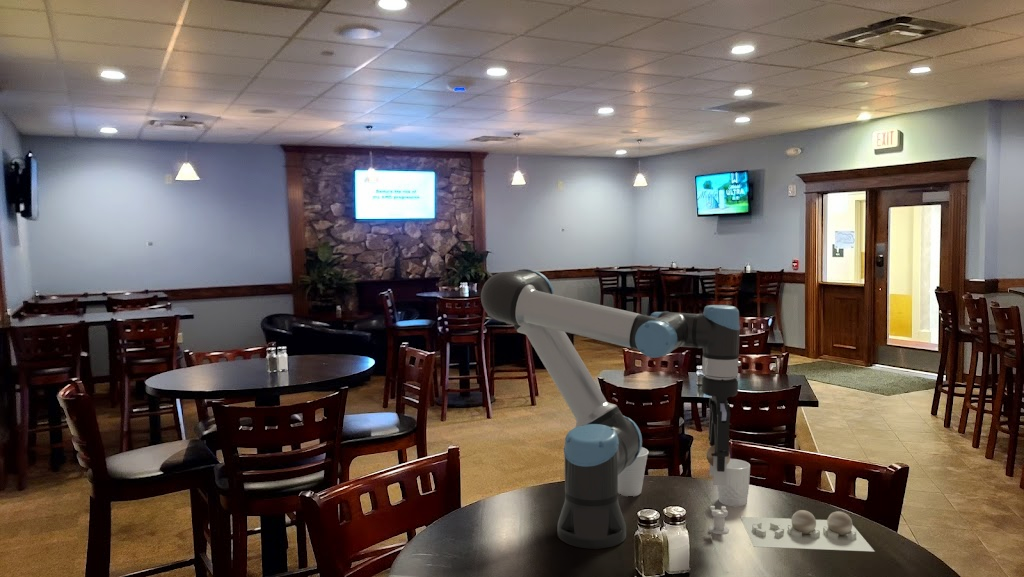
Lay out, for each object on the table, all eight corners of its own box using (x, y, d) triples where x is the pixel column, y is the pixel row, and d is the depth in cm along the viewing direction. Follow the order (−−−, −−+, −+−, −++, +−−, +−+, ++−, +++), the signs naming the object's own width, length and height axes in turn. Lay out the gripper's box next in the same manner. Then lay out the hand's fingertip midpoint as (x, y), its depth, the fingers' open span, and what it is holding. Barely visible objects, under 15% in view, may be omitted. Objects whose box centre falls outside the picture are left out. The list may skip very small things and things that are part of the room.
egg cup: (710, 536, 159) (710, 512, 159) (707, 528, 164) (707, 504, 163) (730, 537, 159) (730, 512, 158) (727, 528, 163) (727, 505, 163)
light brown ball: (707, 470, 158) (708, 448, 158) (704, 463, 163) (705, 441, 163) (731, 471, 157) (732, 449, 157) (727, 464, 162) (728, 442, 162)
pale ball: (831, 538, 156) (831, 516, 155) (824, 529, 161) (824, 507, 160) (855, 539, 155) (856, 517, 155) (847, 530, 160) (848, 508, 160)
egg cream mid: (794, 537, 157) (794, 514, 156) (788, 528, 162) (789, 506, 161) (818, 538, 156) (819, 515, 156) (812, 528, 161) (812, 506, 160)
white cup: (745, 498, 182) (746, 458, 181) (753, 510, 174) (753, 469, 173) (713, 497, 182) (713, 458, 182) (719, 509, 175) (719, 468, 174)
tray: (754, 549, 152) (754, 541, 152) (740, 519, 168) (740, 512, 168) (874, 554, 149) (875, 546, 149) (849, 523, 165) (849, 516, 165)
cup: (609, 498, 182) (608, 456, 181) (610, 485, 192) (610, 444, 191) (649, 500, 181) (649, 457, 180) (648, 486, 190) (648, 445, 190)
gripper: (745, 385, 149) (742, 495, 151) (730, 368, 167) (728, 467, 169) (708, 384, 150) (705, 494, 152) (697, 367, 168) (695, 466, 170)
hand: (717, 480), depth 160 cm, fingers closed on light brown ball, 5 cm apart
